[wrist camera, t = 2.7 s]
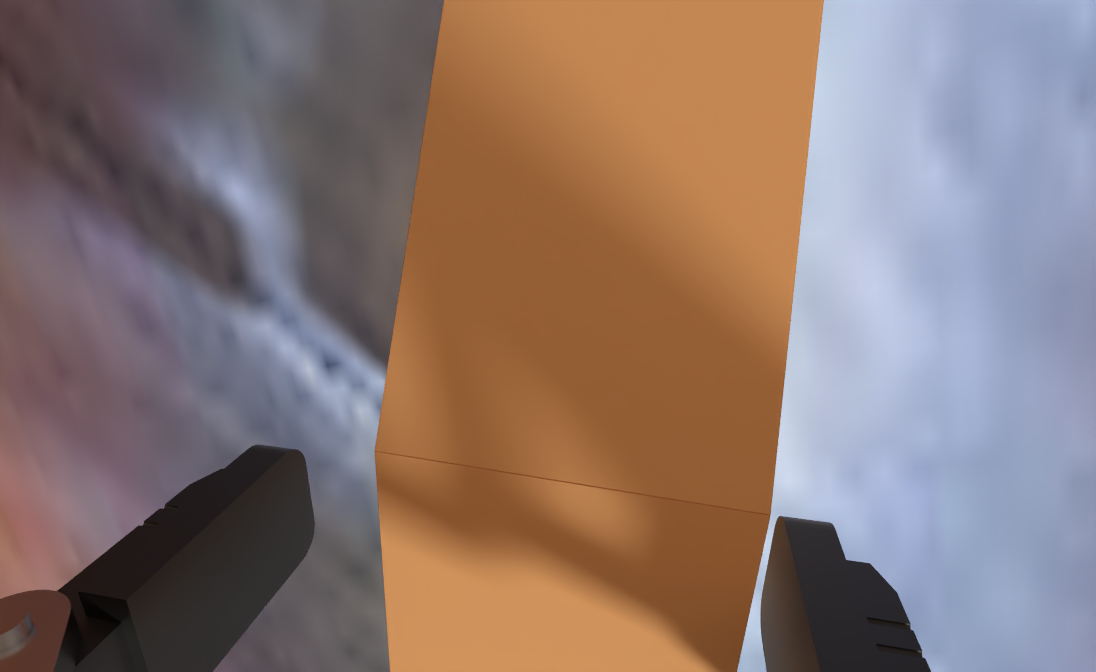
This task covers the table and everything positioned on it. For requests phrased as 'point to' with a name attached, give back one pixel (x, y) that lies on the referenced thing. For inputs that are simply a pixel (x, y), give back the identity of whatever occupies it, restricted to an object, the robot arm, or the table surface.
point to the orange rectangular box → (593, 333)
